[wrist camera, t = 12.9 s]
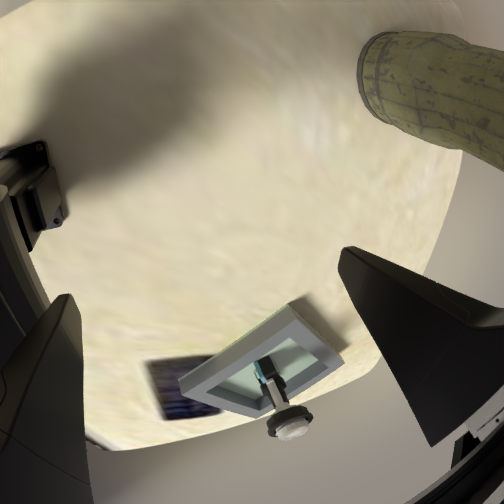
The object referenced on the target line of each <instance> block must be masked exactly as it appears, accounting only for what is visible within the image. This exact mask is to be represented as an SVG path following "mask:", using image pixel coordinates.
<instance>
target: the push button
mask: <svg viewBox="0 0 504 504" xmlns="http://www.w3.org/2000/svg"><path fill="white" fill-rule="evenodd" d="M275 364H276V362H275ZM254 366H255V368H256V370H257V372H258V375H259V377H260V378H259V379H258V377H257V375H256V373H255V372H254V374H255V377H256V379H257V381H258V382H259V384H260V389H261V391H262V394H263V395H264V396H266V397H267V396H268V398H269V399H270V401H271V402H272V405H273V407H274V409H276V412H275V413H274V414H273V415H271V418H270V419H269V420H268V421H267V426H268V428H269V430H268V434H269V436H271V437H279V439H280V440H282V441H285V440H290V439H293V438H296V437H298V436H300V435H302V434H304V433H305V432H306V431H307V430H309V425H308V424H309V423H310V422H311V421H312V419H313V415H312V414H311V413H309V412H308V410H307V408H306V407H304V406H300V405H299V406H297V405H291V406H290V405H289V400H288V398H287V395H286V393H285V390H284V388H286V387H287V385H286V383H285V381H284V379H283V377H281V376H280V374H281V373H280V370H279V368H278V366H277V364H276V366H277V368H278V371H276V369H275V366H274V364H273V362H272V360H271V358H270V356H267V357H265V358H262V359H260V360H258V361H256V362H254Z"/></svg>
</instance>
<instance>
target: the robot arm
mask: <svg viewBox="0 0 504 504" xmlns="http://www.w3.org/2000/svg"><path fill="white" fill-rule="evenodd" d="M39 144H41V145H42V147H43V148H42V150H39V149H38V145H39ZM61 201H62V197H61V193H60V189H59V185H58V180H57V175H56V171H55V168H54V167H53V166H51V162H50V157H49V151H48V145H47V142H46V141H45V140H43V139H40V140H36V141H33V142H30V143H26V144H23V145H20V146H17V147H14V148H11V149H8V150H5V151H2V152H0V504H94V501H93V496H92V490H91V486H90V478H89V470H88V463H87V452H86V441H85V427H84V402H83V370H84V361H83V345H82V322H81V314H80V312H79V309H78V307H77V305H76V303H75V301H74V298H73V296H72V295H71V294H69V293H68V294H61V295H59V296H58V297H57V298H56V299H55V300H54V301H53V302H52V304H51V303H50V301H49V299H48V296H47V294H46V292H45V290H44V288H43V286H42V284H41V281H40V279H39V277H38V275H37V272H36V270H35V268H34V265H33V263H32V260H31V258H30V255H29V252H31V251H32V250H33V248H34V246H35V244H36V242H37V240H38V238H39V236H40V234H41V232H42V231H45V230H48V229H53V228H57V227H60V226H61V225H62V223H63V221H64V217H63V213H62V210H61V206H60V203H61ZM55 218H58V219H59V220H60V221H59V222H57V221H56V220H55ZM338 273H339V275H340V277H341V279H342V281H343V283H344V285H345V287H346V290H347V292H348V294H349V296H350V298H351V300H352V302H353V304H354V306H355V308H356V310H357V312H358V313H359V315H360V317H361V319H362V320H363V322H364V324H365V325H366V327H367V329H368V330H369V332H370V334H371V336H372V337H373V339H374V341H375V343H376V344H377V346H378V348H379V350H380V351H381V353H382V355H383V357H384V359H385V360H386V362H387V364H388V366H389V367H390V369H391V371H392V373H393V375H394V377H395V378H396V380H397V382H398V384H399V386H400V388H401V390H402V391H403V394H404V395H405V397H406V399H407V400H408V403H409V405H410V407H411V409H412V411H413V413H414V415H415V417H416V419H417V421H418V423H419V425H420V427H421V429H422V431H423V433H424V435H425V437H426V439H427V441H428V443H429V445H430V447H433V446H435V445H436V444H437V443H439V442H440V441H441V440H443V439H444V438H445V437H446V436H448V435H449V434H450V433H451V432H453V431H454V430H455V429H457V428H458V427H459V426H460V425H461V424H463V423H464V424H465V425H466V427H467V428H468V431H467V432H466V433H465V434H463V435H462V436H461V437H460V438H459V439H458V440H456V441H455V446H454V452H453V459H452V464H451V470H450V471H448V472H447V473H446V474H445V475H443V476H442V477H441V478H440V479H438V480H437V481H436V482H434V483H433V484H432V485H431V486H429V487H428V488H426V489H425V490H424V491H422V492H421V493H419V494H418V495H417V496H415V497H414V498H412V499H411V500H409V501H408V502H406V503H405V504H504V308H498V307H494V306H491V305H489V304H486V303H484V302H481V301H479V300H477V299H474V298H471V297H469V296H467V295H464V294H462V293H459V292H457V291H455V290H453V289H450V288H448V287H446V286H444V285H441V284H439V283H436V282H435V281H433V280H431V279H428V278H426V277H424V276H422V275H420V274H417V273H415V272H413V271H411V270H408V269H406V268H404V267H402V266H399V265H397V264H395V263H393V262H390V261H388V260H386V259H383V258H381V257H379V256H376V255H374V254H372V253H369V252H367V251H365V250H362V249H360V248H357V247H355V246H349V247H344V248H343V249H342V251H341V255H340V259H339V263H338Z"/></svg>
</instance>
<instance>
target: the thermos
mask: <svg viewBox="0 0 504 504" xmlns="http://www.w3.org/2000/svg"><path fill="white" fill-rule="evenodd" d="M357 82H358V88H359V93H360V95H361V97H362V100H363V102H364V104H365V106H366V107H367V109H368V110H369V111H370V112H371V113H372V115H373V116H374V117H376V118H378V119H379V120H381V121H383V122H384V123H387V124H391V125H394V126H396V127H397V128H399V129H400V130H402V131H403V132H405V133H408V134H410V135H413V136H415V137H417V138H420V139H422V140H424V141H427V142H429V143H432V144H435V145H438V146H442V147H445V148H448V149H461V150H463V151H465V152H467V153H469V154H471V155H473V156H475V157H477V158H479V159H481V160H483V161H485V162H487V163H488V164H490V165H492V166H494V167H496V168H498V169H500V170H501V171H503V172H504V51H500V50H495V49H491V48H486V47H481V46H476V45H471V44H470V43H468V42H466V41H464V40H463V39H461V38H459V37H457V36H455V35H451V34H442V33H431V32H416V31H403V32H401V33H397V32H387V33H380V34H378V35H376V36H374V37H372V38H371V39H370V40H369V41H368V42H367V44H366V45H365V46H364V47H363V49H362V52H361V54H360V57H359V60H358V67H357Z"/></svg>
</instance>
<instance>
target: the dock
mask: <svg viewBox="0 0 504 504" xmlns="http://www.w3.org/2000/svg"><path fill="white" fill-rule="evenodd" d="M267 356H270V358H271V360H272V362H273V364H274V366H275V369H276V371H278V368H279V370H280V373H281V374H280V376H281V377H283V379H284V381H285V383H286V385H287V387H286V388H284V390H285V393H286V395H287V398H288V400H290V399H291V398H293V397H295V396H296V395H298V394H300V393H301V392H303V391H304V390H306V389H308V388H309V387H311V386H312V385H314V384H315V383H317V382H318V381H320V380H321V379H323V378H324V377H326V376H327V375H329V374H330V373H332V372H333V371H335V370H336V369H338V368H339V367H340V366H342V365H343V364H345V362H344V361H343V359H342V357H341V356H340V354H339V353H338V351H337V350H336V349H335V348H333V347H332V346H331V345H330V344H329V343H328V342H327V341H326V340H325V339H324V338H323V337H322V336H321V335H320V334H319V333H318V332H317V331H316V330H315V329H313V328H312V327H311V326H310V325H309V324H308V323H307V322H306V321H305V320H304V319H303V318H302V317H301V316H300V315H299V314H298V313H297V312H296V311H295V310H294V309H293V308H292V307H291V306H289V305H288V304H286V305H285V306H283V307H282V308H281V309H279V310H278V311H277V312H275V313H274V314H272V315H271V316H270V317H268V318H267V319H266V320H264V321H263V322H261V323H260V324H259V325H257V326H256V327H255V328H253V329H252V330H250V331H249V332H248V333H246V334H245V335H243V336H242V337H240V338H239V339H238V340H236V341H235V342H233V343H232V344H230V345H229V346H227V347H226V348H225V349H223V350H222V351H220V352H219V353H217V354H216V355H214V356H213V357H211V358H210V359H208V360H207V361H205V362H204V363H202V364H201V365H199V366H198V367H196V368H195V369H193V370H192V371H190V372H189V373H187V374H186V375H184V376H183V377H181V378H179V379H178V380H179V385H180V390H181V395H183V396H185V397H188V398H191V399H194V400H197V401H200V402H202V403H205V404H208V405H212V406H215V407H218V408H221V409H224V410H227V411H231V412H234V413H238V414H241V415H245V416H248V417H252V418H256V419H257V418H259V417H260V416H262V415H264V414H266V413H268V412H269V411H271V410H273V409H274V407H273V405H272V402H271V401H270V399H269V398H268V396H267V397H266V396H264V395H263V394H262V391H261V389H260V384H259V382H258V381H257V379H256V377H255V374H254V372H255V373H256V375H257V377H258V379H259V378H260V377H259V375H258V372H257V370H256V368H255V366H254V362H256V361H258V360H260V359H262V358H265V357H267ZM275 362H276V364H277V366H278V368H277V366H276V364H275Z"/></svg>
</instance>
